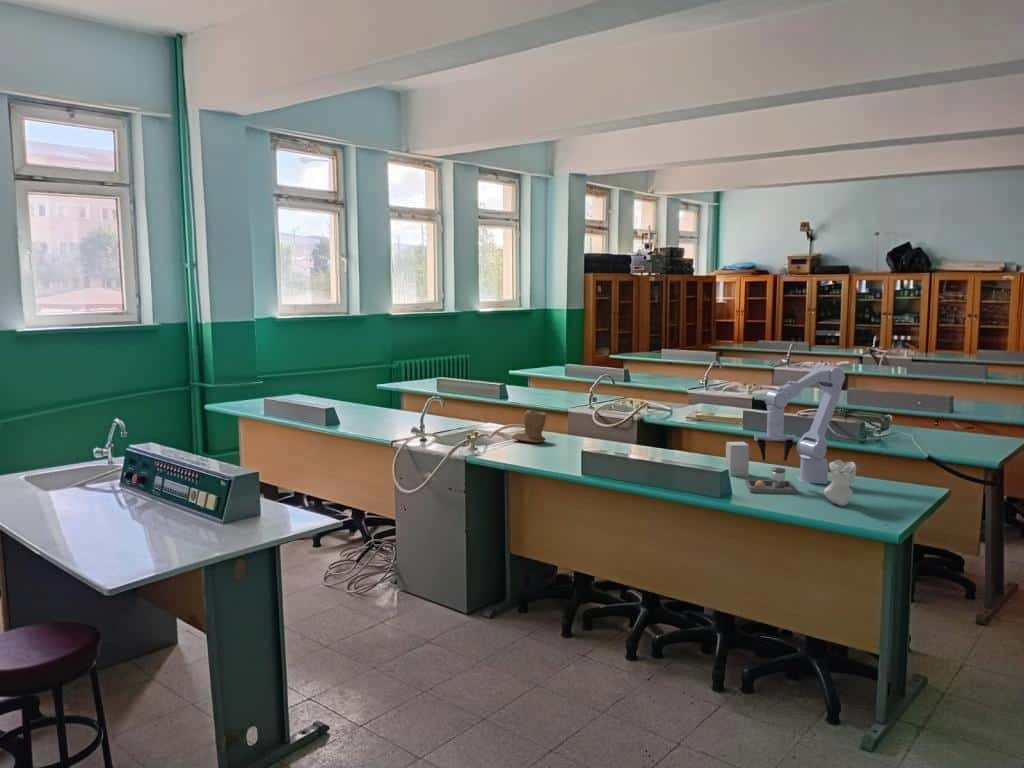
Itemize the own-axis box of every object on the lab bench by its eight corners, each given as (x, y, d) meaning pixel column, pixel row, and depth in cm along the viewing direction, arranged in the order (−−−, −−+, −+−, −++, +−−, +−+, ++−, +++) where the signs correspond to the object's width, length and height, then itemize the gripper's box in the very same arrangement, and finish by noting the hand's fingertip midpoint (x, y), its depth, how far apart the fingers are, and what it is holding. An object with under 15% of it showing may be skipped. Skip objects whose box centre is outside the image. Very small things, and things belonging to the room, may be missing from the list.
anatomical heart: (847, 500, 272) (849, 457, 270) (862, 509, 261) (864, 465, 259) (819, 500, 272) (821, 458, 270) (833, 510, 260) (835, 466, 259)
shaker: (783, 486, 289) (783, 467, 288) (786, 489, 284) (787, 470, 283) (770, 486, 289) (770, 467, 288) (773, 489, 285) (774, 470, 284)
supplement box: (748, 477, 305) (749, 445, 303) (729, 477, 305) (730, 445, 303) (743, 472, 312) (744, 441, 311) (724, 472, 312) (725, 441, 311)
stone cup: (551, 441, 377) (551, 410, 375) (536, 445, 367) (536, 413, 365) (525, 437, 386) (525, 407, 384) (511, 441, 376) (510, 410, 374)
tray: (790, 486, 290) (790, 480, 290) (796, 495, 279) (797, 489, 278) (745, 485, 293) (745, 479, 293) (750, 494, 281) (750, 488, 281)
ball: (764, 488, 286) (764, 479, 285) (765, 491, 282) (766, 482, 282) (754, 488, 286) (754, 479, 286) (755, 491, 283) (755, 481, 282)
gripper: (757, 425, 286) (756, 462, 287) (798, 425, 284) (797, 462, 286) (753, 421, 293) (752, 457, 294) (794, 422, 291) (792, 458, 293)
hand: (774, 459), depth 290 cm, fingers open, 7 cm apart
